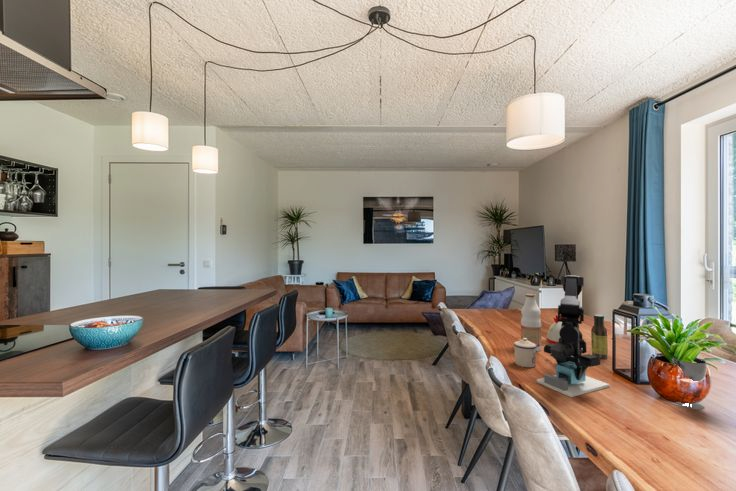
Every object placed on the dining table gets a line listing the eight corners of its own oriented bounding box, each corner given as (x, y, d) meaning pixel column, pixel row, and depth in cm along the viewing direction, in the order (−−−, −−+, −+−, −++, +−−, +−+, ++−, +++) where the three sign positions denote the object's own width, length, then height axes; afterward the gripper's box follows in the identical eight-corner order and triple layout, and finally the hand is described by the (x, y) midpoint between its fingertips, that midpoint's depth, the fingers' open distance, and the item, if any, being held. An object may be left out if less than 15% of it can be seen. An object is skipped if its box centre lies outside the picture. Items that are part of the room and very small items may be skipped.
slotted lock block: (570, 375, 129) (570, 361, 129) (585, 380, 123) (585, 366, 123) (556, 378, 126) (555, 364, 126) (571, 384, 120) (570, 369, 120)
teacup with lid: (537, 369, 141) (537, 342, 141) (514, 366, 144) (513, 339, 144) (535, 360, 152) (535, 335, 152) (514, 357, 155) (513, 333, 155)
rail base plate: (573, 373, 135) (573, 364, 135) (609, 386, 123) (609, 376, 123) (536, 382, 127) (536, 371, 127) (571, 397, 114) (571, 385, 114)
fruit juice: (529, 352, 163) (529, 296, 163) (517, 346, 172) (516, 293, 172) (545, 350, 165) (545, 295, 165) (532, 345, 174) (532, 292, 174)
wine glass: (700, 412, 103) (700, 364, 104) (668, 401, 111) (668, 357, 111) (710, 406, 107) (710, 360, 107) (679, 396, 114) (678, 353, 114)
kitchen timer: (541, 339, 186) (541, 312, 186) (563, 338, 188) (563, 312, 188) (558, 346, 172) (558, 318, 173) (582, 345, 174) (582, 317, 174)
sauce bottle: (594, 353, 160) (593, 313, 160) (609, 357, 155) (609, 315, 155) (589, 356, 156) (589, 314, 156) (605, 360, 151) (604, 317, 151)
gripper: (533, 332, 130) (534, 371, 130) (580, 345, 113) (580, 390, 113) (553, 329, 134) (553, 367, 134) (601, 341, 117) (601, 385, 117)
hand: (570, 377), depth 124 cm, fingers closed on slotted lock block, 6 cm apart
